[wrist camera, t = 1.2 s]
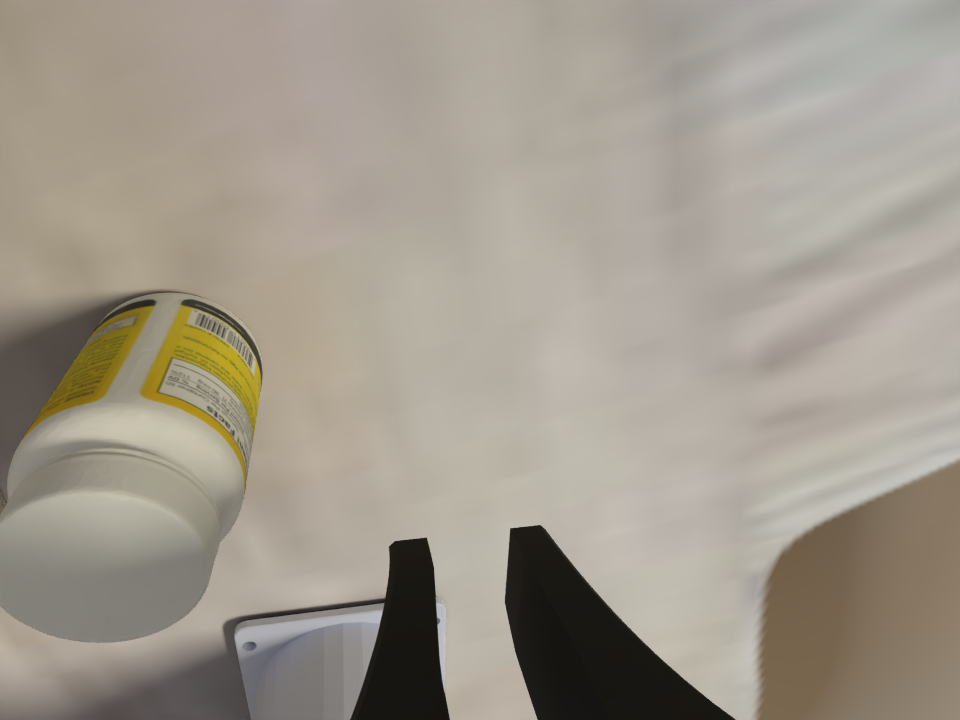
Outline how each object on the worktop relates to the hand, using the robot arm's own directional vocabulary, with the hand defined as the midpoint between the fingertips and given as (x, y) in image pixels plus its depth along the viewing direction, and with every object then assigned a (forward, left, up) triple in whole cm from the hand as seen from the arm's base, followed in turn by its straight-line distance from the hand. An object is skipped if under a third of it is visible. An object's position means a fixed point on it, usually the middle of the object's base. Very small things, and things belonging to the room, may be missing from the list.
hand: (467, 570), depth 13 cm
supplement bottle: (0, +7, -10) cm, 12 cm away
